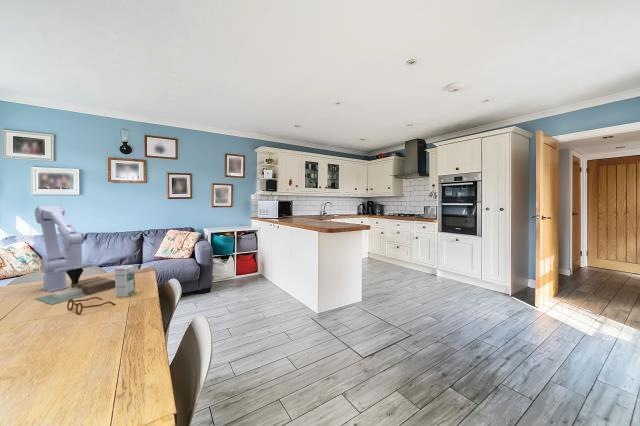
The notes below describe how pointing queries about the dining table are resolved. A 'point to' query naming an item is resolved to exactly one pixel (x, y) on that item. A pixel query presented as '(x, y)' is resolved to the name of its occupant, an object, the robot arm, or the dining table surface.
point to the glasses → (82, 305)
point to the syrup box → (124, 281)
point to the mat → (52, 300)
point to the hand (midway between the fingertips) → (75, 283)
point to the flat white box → (67, 293)
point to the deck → (94, 285)
